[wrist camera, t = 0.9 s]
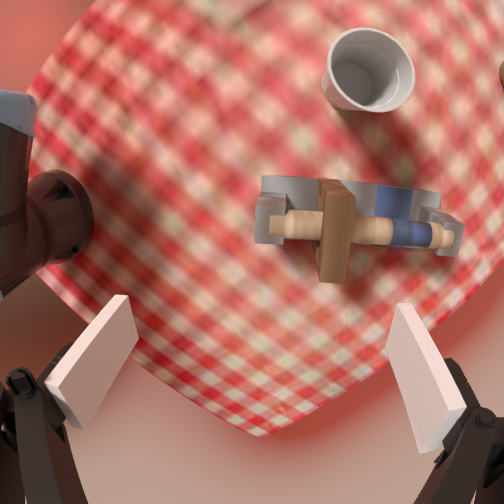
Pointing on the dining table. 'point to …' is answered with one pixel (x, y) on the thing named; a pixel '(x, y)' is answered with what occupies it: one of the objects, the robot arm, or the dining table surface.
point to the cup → (368, 72)
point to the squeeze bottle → (502, 73)
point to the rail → (357, 215)
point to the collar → (334, 230)
